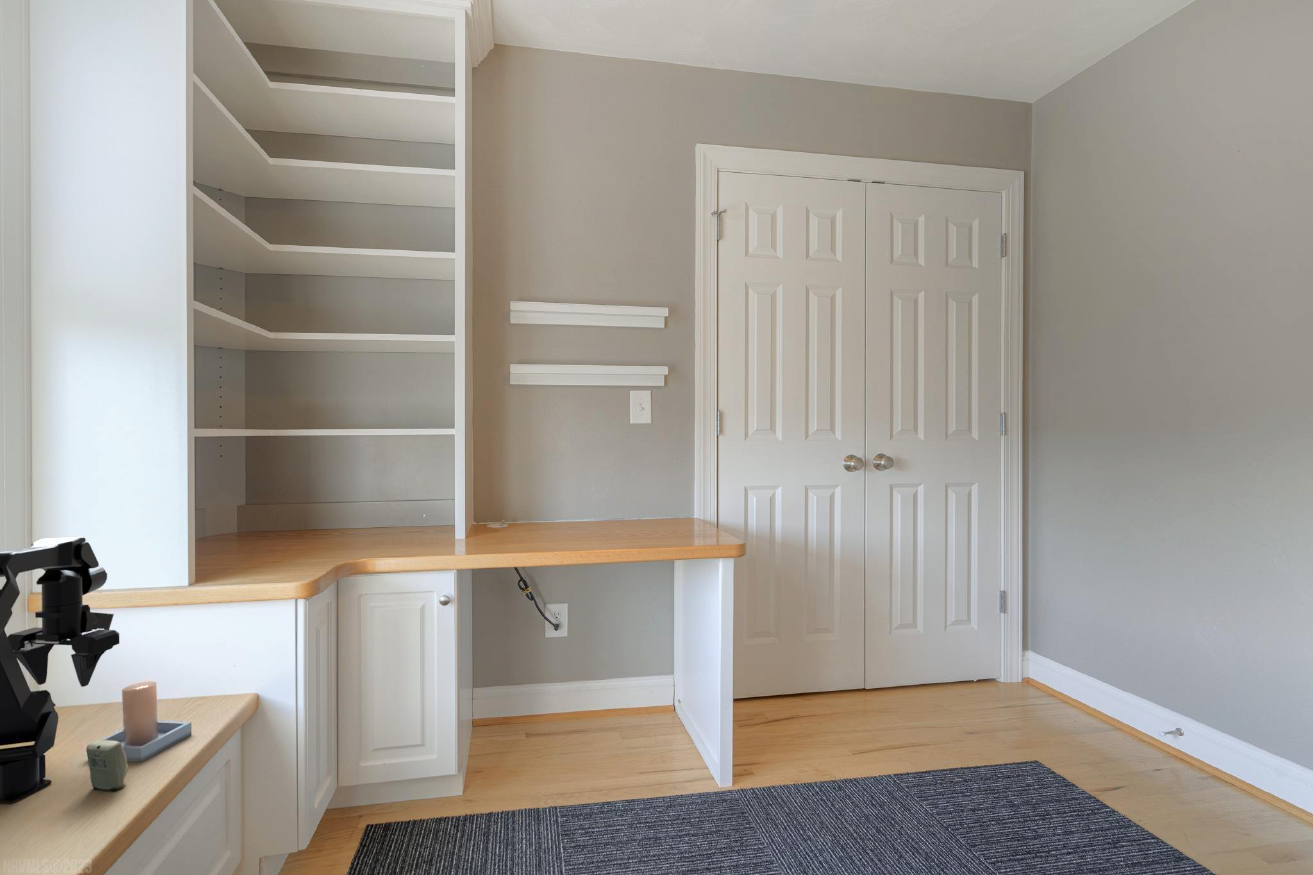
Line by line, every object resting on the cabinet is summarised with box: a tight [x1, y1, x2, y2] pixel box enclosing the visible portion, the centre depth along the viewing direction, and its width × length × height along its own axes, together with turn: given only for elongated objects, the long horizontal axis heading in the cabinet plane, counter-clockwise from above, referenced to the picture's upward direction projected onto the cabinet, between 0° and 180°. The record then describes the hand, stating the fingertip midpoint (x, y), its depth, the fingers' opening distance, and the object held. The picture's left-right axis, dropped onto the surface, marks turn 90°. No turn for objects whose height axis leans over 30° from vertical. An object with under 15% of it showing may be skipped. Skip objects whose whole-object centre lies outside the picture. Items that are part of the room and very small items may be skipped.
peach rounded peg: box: [121, 681, 159, 746], centre depth 125 cm, size 5×5×11 cm
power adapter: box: [85, 740, 129, 792], centre depth 110 cm, size 6×5×8 cm
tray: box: [98, 720, 192, 763], centre depth 125 cm, size 11×11×2 cm
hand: (63, 684), depth 123 cm, fingers open, 9 cm apart
